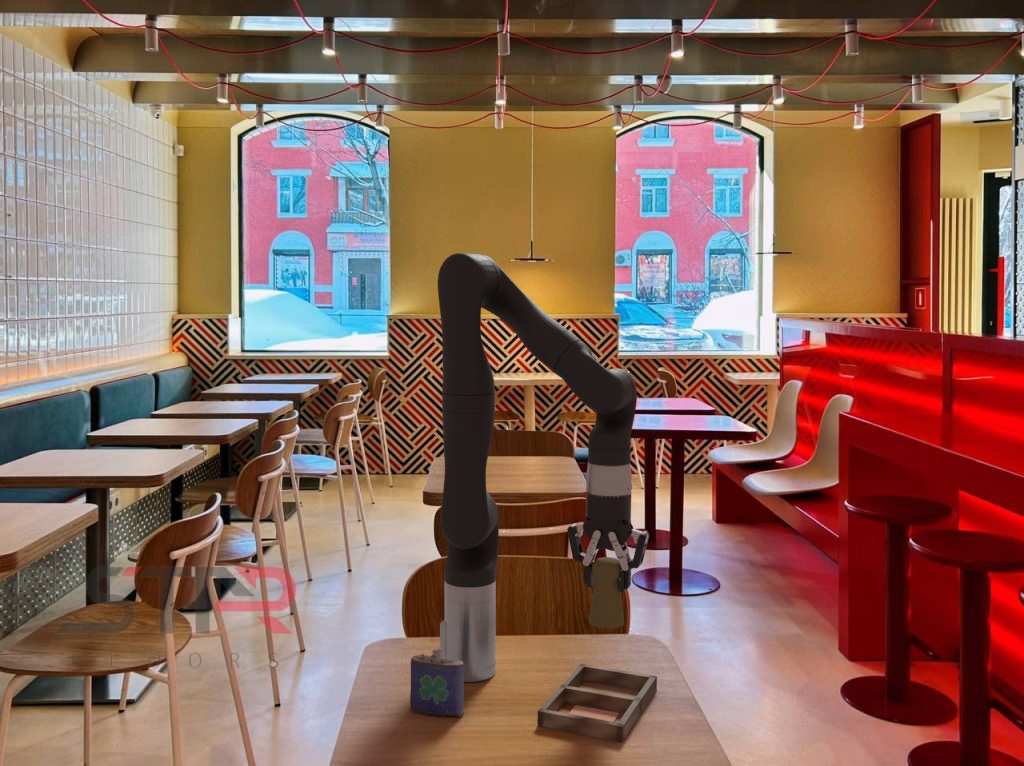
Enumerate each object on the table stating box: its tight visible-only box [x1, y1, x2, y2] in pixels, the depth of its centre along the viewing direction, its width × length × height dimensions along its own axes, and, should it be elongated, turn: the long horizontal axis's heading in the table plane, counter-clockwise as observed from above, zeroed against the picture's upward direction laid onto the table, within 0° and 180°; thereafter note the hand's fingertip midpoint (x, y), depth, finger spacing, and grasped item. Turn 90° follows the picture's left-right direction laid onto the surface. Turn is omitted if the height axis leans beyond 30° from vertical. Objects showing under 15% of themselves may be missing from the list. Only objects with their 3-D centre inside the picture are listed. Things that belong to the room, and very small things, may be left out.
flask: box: [409, 648, 465, 719], centre depth 157 cm, size 9×3×11 cm, turn 74°
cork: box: [588, 556, 625, 630], centre depth 161 cm, size 6×6×11 cm
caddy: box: [537, 663, 658, 743], centre depth 160 cm, size 14×21×2 cm, turn 157°
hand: (607, 588), depth 161 cm, fingers closed on cork, 5 cm apart
